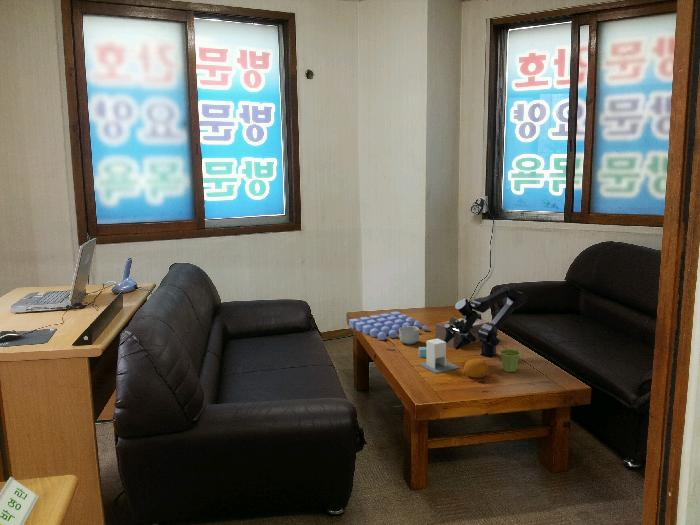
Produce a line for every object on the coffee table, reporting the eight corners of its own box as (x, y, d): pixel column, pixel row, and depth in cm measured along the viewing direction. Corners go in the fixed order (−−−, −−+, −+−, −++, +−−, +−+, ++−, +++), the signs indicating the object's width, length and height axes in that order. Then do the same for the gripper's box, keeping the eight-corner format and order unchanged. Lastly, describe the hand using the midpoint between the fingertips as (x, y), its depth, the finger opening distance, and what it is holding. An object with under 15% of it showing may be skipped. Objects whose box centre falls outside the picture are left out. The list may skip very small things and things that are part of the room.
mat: (442, 359, 290) (442, 358, 290) (459, 368, 278) (459, 367, 277) (418, 364, 283) (418, 363, 283) (435, 373, 271) (435, 372, 271)
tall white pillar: (437, 362, 285) (437, 338, 283) (445, 366, 279) (446, 342, 277) (426, 364, 282) (426, 340, 280) (434, 368, 276) (434, 344, 274)
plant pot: (516, 375, 268) (517, 356, 266) (496, 371, 273) (497, 353, 271) (522, 368, 276) (523, 351, 274) (502, 365, 281) (503, 348, 279)
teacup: (418, 346, 311) (418, 331, 310) (397, 345, 313) (397, 330, 312) (420, 338, 325) (420, 324, 323) (400, 337, 327) (400, 323, 326)
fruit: (468, 370, 274) (468, 354, 273) (490, 374, 269) (491, 357, 268) (460, 377, 265) (461, 361, 264) (483, 382, 260) (483, 364, 259)
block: (426, 354, 298) (426, 347, 298) (427, 357, 294) (427, 349, 294) (418, 354, 298) (418, 347, 298) (419, 357, 294) (419, 349, 294)
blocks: (396, 318, 367) (396, 311, 367) (431, 332, 338) (431, 324, 337) (348, 327, 350) (348, 319, 349) (380, 342, 321) (380, 333, 320)
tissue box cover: (453, 348, 308) (453, 329, 306) (435, 341, 320) (435, 323, 318) (488, 339, 322) (489, 322, 320) (469, 333, 334) (470, 316, 332)
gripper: (447, 307, 290) (428, 332, 287) (471, 315, 274) (452, 342, 271) (459, 320, 295) (441, 345, 292) (484, 329, 279) (465, 355, 276)
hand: (449, 346), depth 283 cm, fingers open, 9 cm apart
